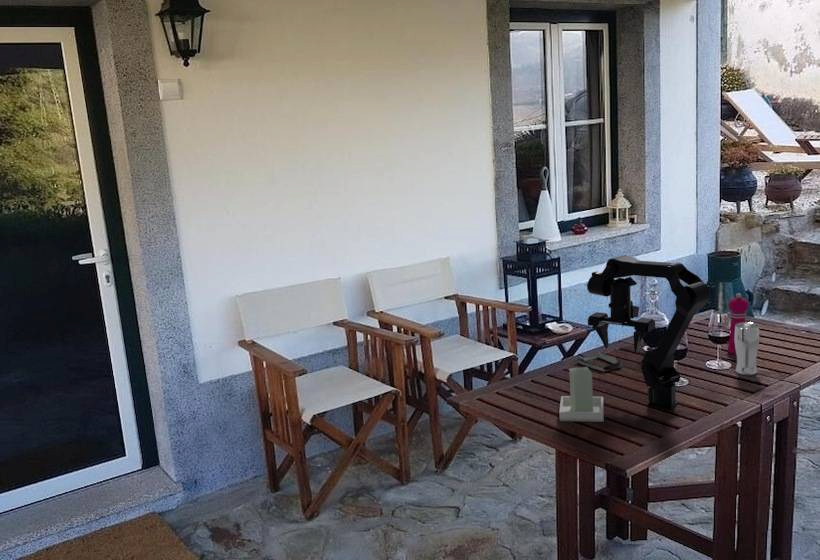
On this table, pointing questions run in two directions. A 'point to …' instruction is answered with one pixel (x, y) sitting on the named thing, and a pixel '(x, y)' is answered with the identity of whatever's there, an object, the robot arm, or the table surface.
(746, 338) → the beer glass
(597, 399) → the tray
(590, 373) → the handle block
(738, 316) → the pepper mill
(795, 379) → the table surface
